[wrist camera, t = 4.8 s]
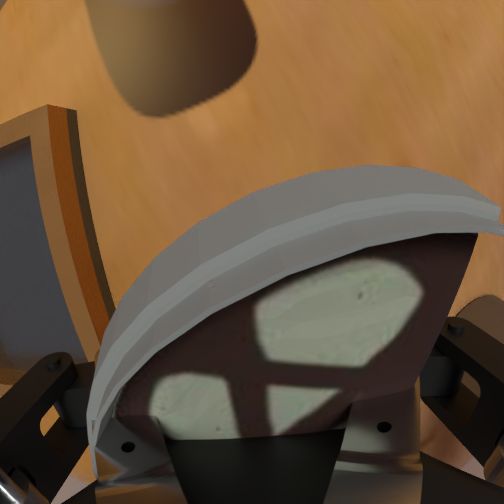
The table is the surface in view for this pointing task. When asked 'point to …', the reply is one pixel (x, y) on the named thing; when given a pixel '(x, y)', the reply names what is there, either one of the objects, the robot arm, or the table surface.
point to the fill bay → (47, 246)
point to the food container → (291, 305)
